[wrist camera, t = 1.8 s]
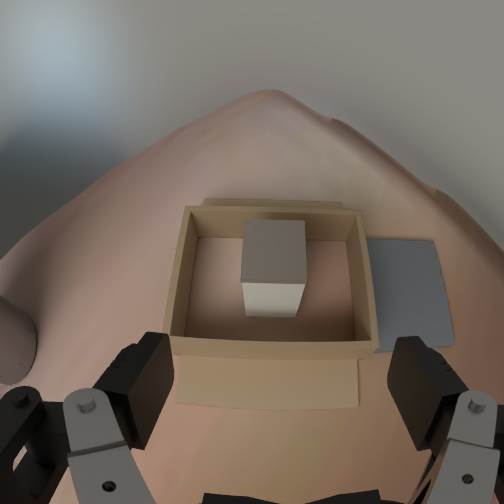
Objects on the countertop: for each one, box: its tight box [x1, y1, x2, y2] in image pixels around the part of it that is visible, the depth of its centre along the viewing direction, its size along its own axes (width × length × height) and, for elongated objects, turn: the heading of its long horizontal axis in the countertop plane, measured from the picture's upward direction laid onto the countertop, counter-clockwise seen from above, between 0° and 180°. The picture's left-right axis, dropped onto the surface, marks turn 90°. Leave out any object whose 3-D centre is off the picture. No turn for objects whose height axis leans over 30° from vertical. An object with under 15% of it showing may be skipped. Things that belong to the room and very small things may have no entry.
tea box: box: [241, 219, 307, 318], centre depth 26 cm, size 5×5×8 cm
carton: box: [163, 199, 379, 410], centre depth 28 cm, size 17×22×4 cm
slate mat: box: [366, 239, 455, 353], centre depth 29 cm, size 9×12×1 cm
